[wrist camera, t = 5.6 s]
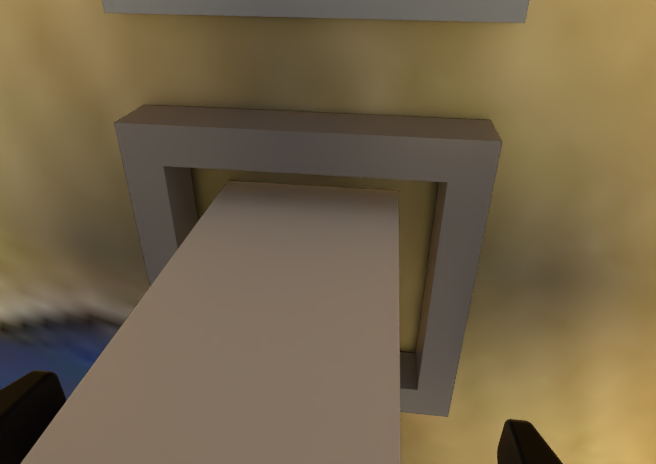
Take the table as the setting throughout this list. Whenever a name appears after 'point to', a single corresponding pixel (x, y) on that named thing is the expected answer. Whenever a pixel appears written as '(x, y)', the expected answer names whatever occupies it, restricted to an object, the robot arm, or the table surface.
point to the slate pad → (335, 9)
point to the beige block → (254, 342)
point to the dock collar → (333, 160)
